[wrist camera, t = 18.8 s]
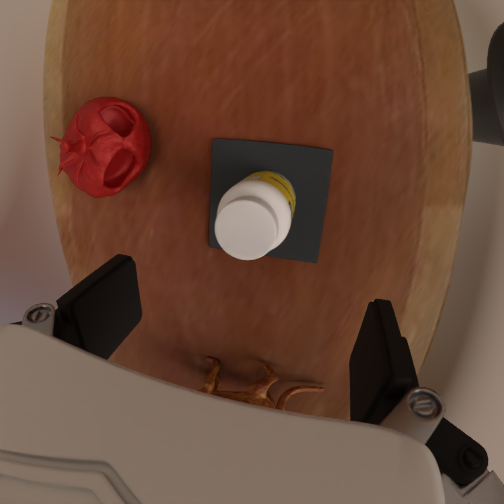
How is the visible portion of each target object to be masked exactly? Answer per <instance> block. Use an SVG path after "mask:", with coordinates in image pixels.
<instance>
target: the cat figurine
mask: <svg viewBox="0 0 504 504" xmlns="http://www.w3.org/2000/svg"><path fill="white" fill-rule="evenodd" d="M207 361H208V362H210V363H212V366H213V368H212V370H211V371H210V373H209V374H208V375H207V377H206V379H205V381H204V388H202V389H200V390H197V391H200V392H203V393H207V394H211V395H215V396H218V397H222V398H226V399H230V400H235V401H239V402H243V403H248V404H252V405H257V406H262V407H267V408H272V409H278V410H284V408H285V404H286V401H287V400H288V398H289V397H290V396H291V395H292V394H294V393H298V392H304V391H306V392H323V391H324V390H325V389H324V388H323V387H315V386H296V387H292V388H289V389H288V390H286V391H285V392H284V393H283V394H282V395H281V396H280V398H279V400H278V403H277V406H276V407H275V402H274V400H273V397H272V396H271V395H270V394H269V392H268V391H267V390H268V388H269V386H270V385H271V384H273V383H274V382H276V381H277V380H278V377H277V375H276V374H275V373H274V371H273V370H272V369H271V367H270V366H269V365H268V364H259V365H260V366H261V367H263V368H265V370H266V373H267V377H264V378H262V379H259V380H257V381H256V382H254V383H253V384H252V385H251V386H250V388H249V389H248V390H247V391H246V392H232V391H219V388H220V385H221V379H220V377H219V376H217V374H218V372H219V369H220V364H219V362H218V361H217V360H216V359H214V358H210V357H207Z"/></svg>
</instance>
